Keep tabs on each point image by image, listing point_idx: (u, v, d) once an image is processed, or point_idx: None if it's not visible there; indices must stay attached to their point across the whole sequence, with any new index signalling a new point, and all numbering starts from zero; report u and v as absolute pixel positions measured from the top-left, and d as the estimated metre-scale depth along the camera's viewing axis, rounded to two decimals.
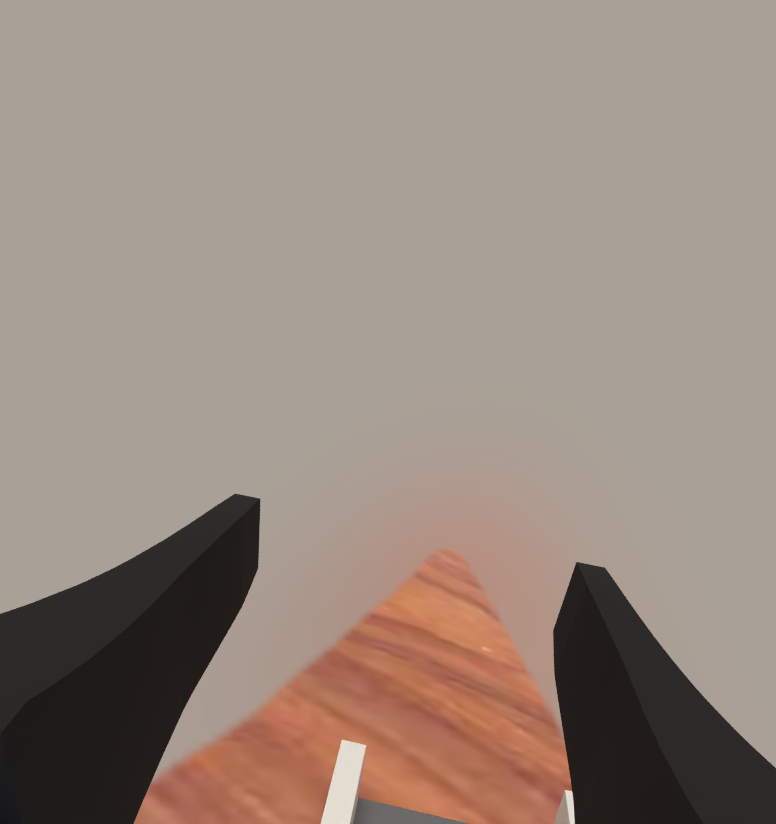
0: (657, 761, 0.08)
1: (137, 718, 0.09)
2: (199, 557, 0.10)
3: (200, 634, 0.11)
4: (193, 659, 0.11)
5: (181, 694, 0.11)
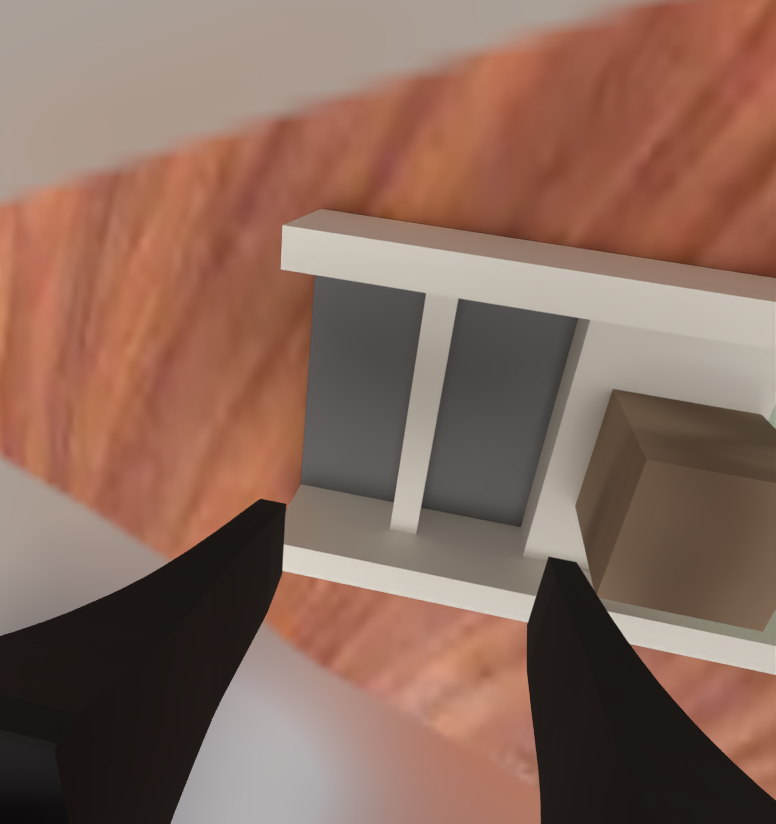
0: (610, 750, 0.08)
1: (173, 727, 0.09)
2: (231, 564, 0.10)
3: (230, 641, 0.11)
4: (223, 666, 0.11)
5: (211, 701, 0.11)
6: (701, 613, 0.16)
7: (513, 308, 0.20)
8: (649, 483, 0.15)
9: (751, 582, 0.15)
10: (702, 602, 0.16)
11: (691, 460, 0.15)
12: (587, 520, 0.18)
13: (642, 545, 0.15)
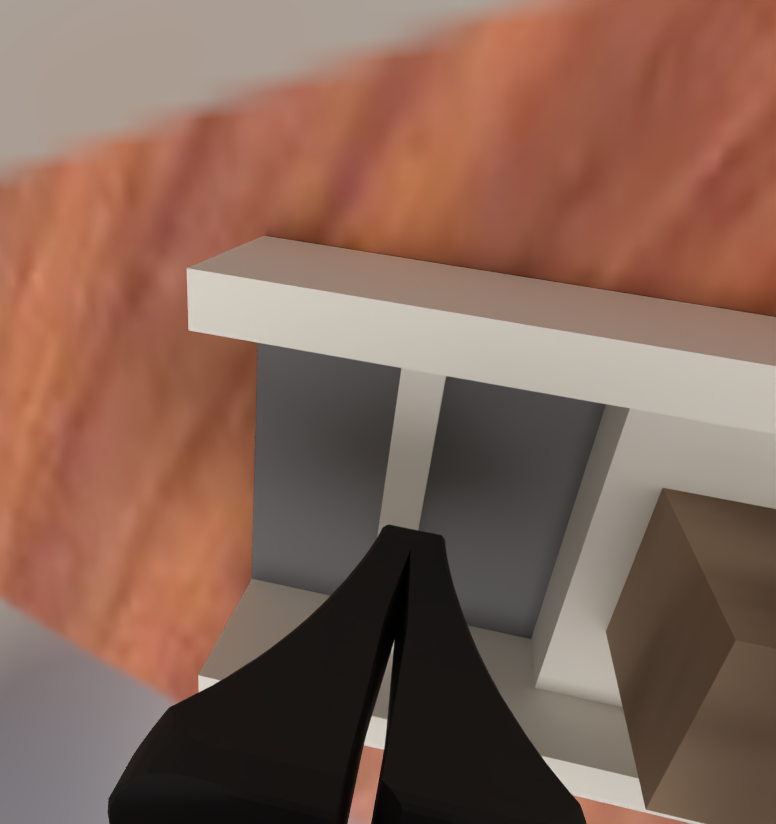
0: (395, 702, 0.08)
1: (354, 770, 0.09)
2: (391, 598, 0.10)
3: (378, 674, 0.11)
4: (372, 700, 0.11)
5: (364, 737, 0.11)
6: None
7: None
8: (737, 672, 0.09)
9: None
10: None
11: None
12: (627, 669, 0.13)
13: (721, 751, 0.10)
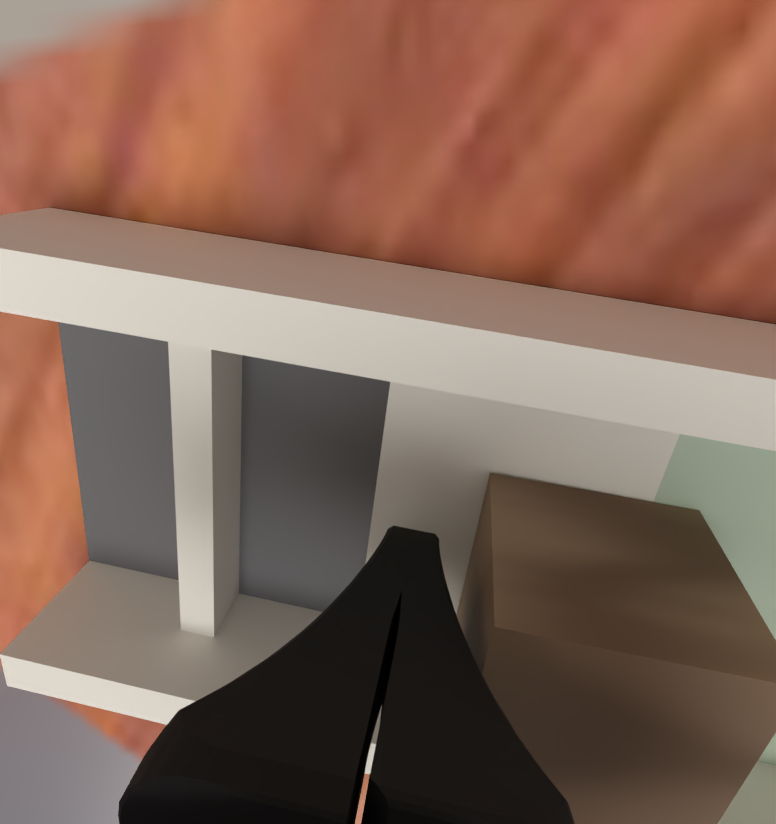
0: None
1: (362, 772, 0.09)
2: (398, 599, 0.10)
3: (385, 675, 0.11)
4: (378, 701, 0.11)
5: (370, 738, 0.11)
6: None
7: None
8: (504, 660, 0.09)
9: (672, 798, 0.10)
10: (601, 818, 0.10)
11: (571, 621, 0.09)
12: None
13: None
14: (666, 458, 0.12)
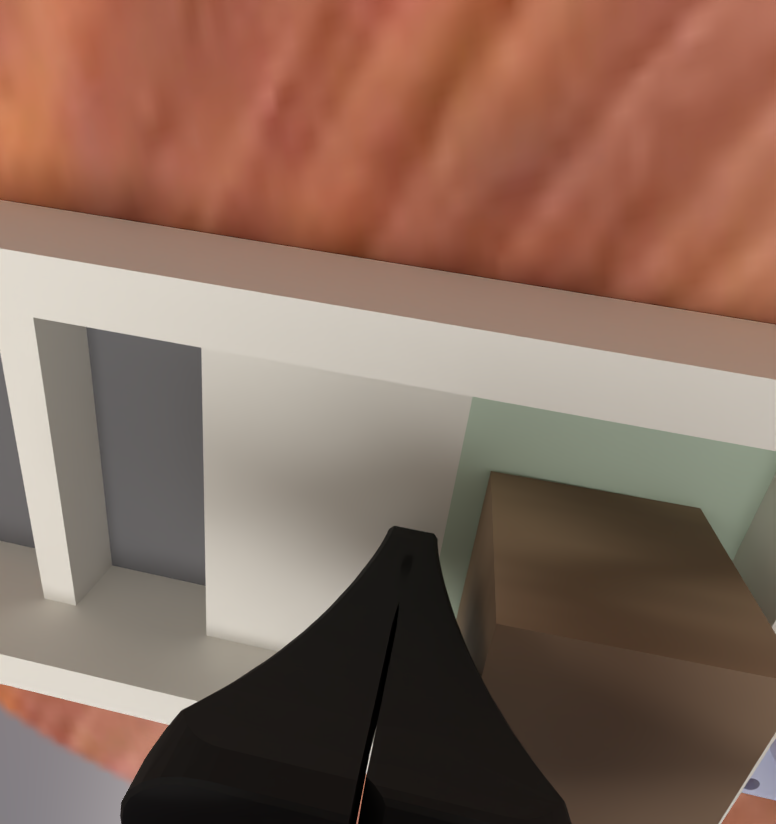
0: None
1: (363, 772, 0.09)
2: (399, 599, 0.10)
3: None
4: (380, 702, 0.11)
5: (372, 738, 0.11)
6: None
7: None
8: (505, 657, 0.09)
9: (674, 795, 0.10)
10: (602, 817, 0.10)
11: (573, 618, 0.09)
12: None
13: None
14: (467, 421, 0.13)
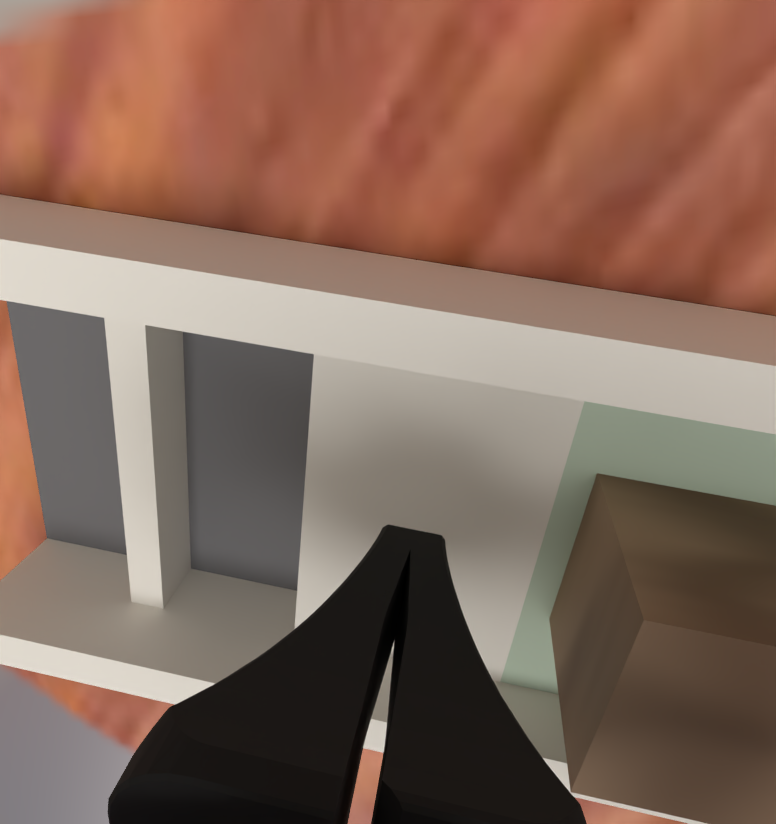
0: (394, 702, 0.08)
1: (354, 770, 0.09)
2: (391, 598, 0.10)
3: (378, 674, 0.11)
4: (372, 700, 0.11)
5: (364, 737, 0.11)
6: (725, 820, 0.11)
7: None
8: (648, 652, 0.10)
9: None
10: (725, 807, 0.11)
11: (713, 615, 0.10)
12: (563, 654, 0.13)
13: (638, 732, 0.10)
14: (574, 427, 0.13)
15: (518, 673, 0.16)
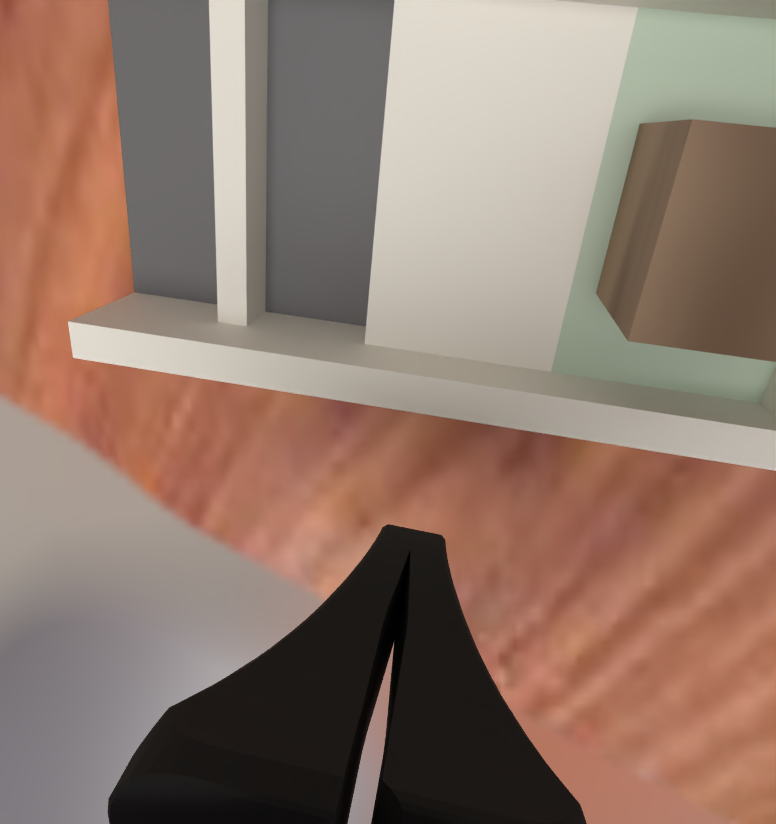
0: (394, 701, 0.08)
1: (354, 770, 0.09)
2: (391, 598, 0.10)
3: (378, 674, 0.11)
4: (372, 700, 0.11)
5: (364, 737, 0.11)
6: (760, 351, 0.13)
7: (328, 35, 0.17)
8: (695, 157, 0.12)
9: None
10: (761, 334, 0.13)
11: (749, 126, 0.12)
12: (613, 284, 0.15)
13: (687, 255, 0.12)
14: (619, 79, 0.15)
15: (567, 359, 0.18)
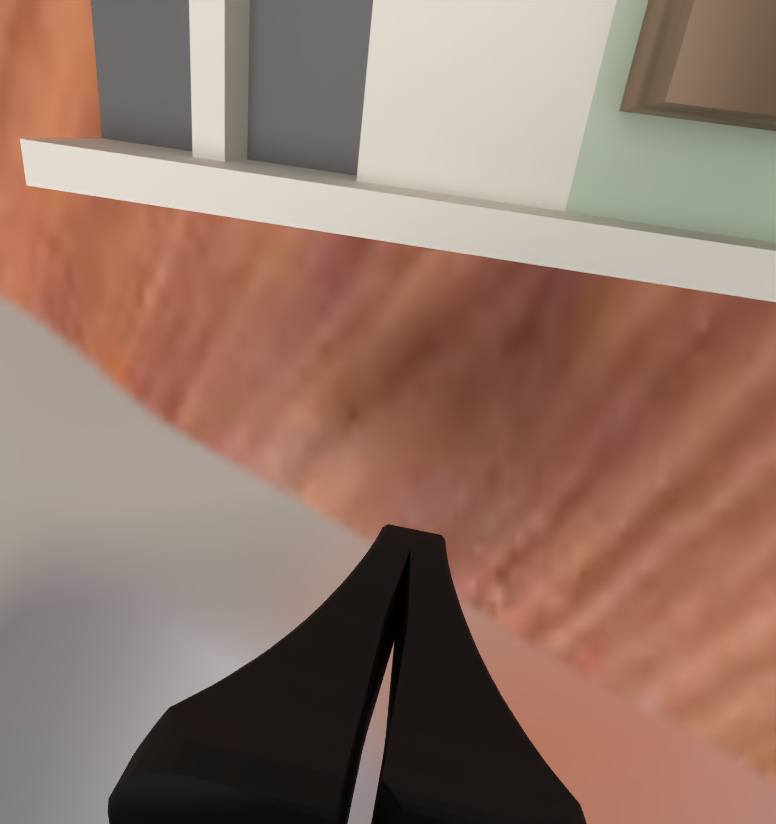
0: (394, 701, 0.08)
1: (354, 770, 0.09)
2: (391, 598, 0.10)
3: (378, 674, 0.11)
4: (372, 700, 0.11)
5: (363, 737, 0.11)
6: None
7: None
8: None
9: None
10: None
11: None
12: (643, 75, 0.13)
13: None
14: None
15: (584, 196, 0.16)
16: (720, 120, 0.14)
